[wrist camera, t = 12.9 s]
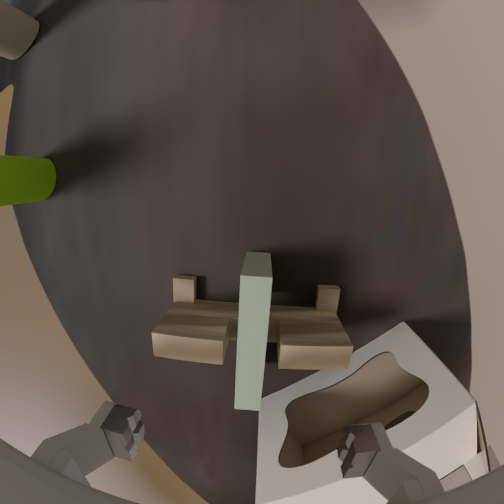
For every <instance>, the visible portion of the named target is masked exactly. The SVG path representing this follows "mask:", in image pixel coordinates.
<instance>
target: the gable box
mask: <svg viewBox="0 0 504 504" xmlns="http://www.w3.org/2000/svg"><path fill="white" fill-rule="evenodd" d="M407 412H414V414H413V415H412V416H410V417H409V418H407V419H406V420H404V421H403V422H401V423H399V424H398V425H396V426H394V427H392V428H390V429H388V430H385V431H386V433H387V436H388V438H389V440H390V442H391V445H392V447H393V448H397V449H399V450H400V451H402V452H403V453H405V454H407V455H408V456H410V457H411V458H413V459H415V460H416V461H418V462H420V463H421V464H423V465H425V466H426V467H428V468H430V469H431V470H433V471H435V472H436V474H437V477H438V479H439V481H440V483H442V482H444V481H445V480H447V479H449V478H450V477H452V476H453V475H455V474H456V473H458V472H459V471H461V470H462V469H464V468H465V469H466V470H467V472H468V474H469V476H470V478H471V479H472V480H474V479H476V478H478V477H480V476H482V475H485V474H487V473H488V472H490V471H492V470H494V469H496V468H498V467H500V466H501V465H500V463H499V461H498V459H497V457H496V455H495V453H494V451H493V450H492V448H491V446H490V445H489V446H487V443H486V438H485V434H484V429H483V425H482V420H481V416H480V412H479V408H478V404H477V402H476V400H475V399H474V398H473V397H472V395H471V394H470V393H469V392H468V391H467V389H466V388H465V387H464V386H463V385H462V384H461V382H460V381H459V380H458V379H457V378H456V377H455V376H454V374H453V373H452V372H451V371H450V370H449V369H448V368H447V367H446V366H445V364H444V363H443V362H442V361H441V360H440V359H439V358H438V357H437V356H436V354H435V353H434V352H433V351H432V350H431V349H430V348H429V347H428V346H427V345H426V344H425V343H424V342H423V340H422V339H421V338H420V337H419V336H418V335H417V334H416V333H415V332H414V331H413V330H412V329H411V328H410V327H409V326H408V325H407V324H406V323H405V322H401V323H399V324H398V325H396V326H395V327H393V328H392V329H390V330H389V331H387V332H386V333H384V334H383V335H381V336H379V337H378V338H376V339H375V340H373V341H371V342H370V343H368V344H366V345H365V346H363V347H361V348H360V349H358V350H356V351H355V352H353V353H352V355H351V359H350V363H349V367H348V369H322V370H320V371H318V372H316V373H314V374H312V375H310V376H308V377H306V378H304V379H302V380H300V381H298V382H296V383H294V384H292V385H290V386H288V387H286V388H284V389H281V390H279V391H277V392H275V393H273V394H270V395H268V396H266V397H264V398H261V403H260V411H259V426H258V452H257V477H256V499H255V504H386V503H387V502H388V500H387V499H386V498H384V497H383V496H382V495H381V494H380V493H379V492H378V491H377V490H376V489H375V488H373V487H372V486H371V485H370V484H369V483H368V482H367V481H366V480H365V479H364V478H363V477H355V478H345V479H343V475H342V471H341V465H342V461H341V460H339V458H338V452H337V450H335V451H333V452H331V451H332V450H333V449H335V448H337V447H338V442H339V440H340V438H341V437H343V429H344V427H345V426H347V425H358V424H367V423H368V424H369V423H376V422H381V423H382V424H383V427H384V428H385V427H386V426H387V425H388V424H390V423H391V422H392V421H394V420H395V419H396V418H398V417H399V416H401V415H403V414H404V413H407ZM330 452H331V453H330Z"/></svg>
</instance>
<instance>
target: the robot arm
mask: <svg viewBox="0 0 504 504" xmlns="http://www.w3.org/2000/svg"><path fill="white" fill-rule="evenodd" d="M140 418H141V413H140V411H139V410H137V409H133V408H130V407H126V406H122V405H119V404H115V403H112V402H108V401H105V402H104V403H103V404H102V405H101V407H100V408H99V410H98V411H97V413H96V414H95V415H94V417H93V418H92V420H91V421H90V423H89V424H86V423H85V424H83V425H81V426H78V427H76V428H73V429H71V430H68V431H66V432H63V433H60V434H58V435H55V436H53V437H50V438H47V439H45V440H43V442H42V443H41V444H40V445H39V447H38V448H37V449H36V451H35V452H34V454H33V455H32V456H31V457H29V456H27V455H25V454H24V453H22V452H21V451H19V450H17V449H16V448H14V447H13V446H11V445H10V444H8V443H6V442H5V441H4V440H2V439H1V438H0V504H139V503H135V502H132V501H129V500H125V499H122V498H119V497H116V496H113V495H110V494H108V493H105V492H102V491H100V490H97V489H95V488H92V487H91V486H90V484H89V482H88V481H87V479H86V478H85V476H86V475H87V474H89V473H90V472H92V471H94V470H95V469H97V468H99V467H100V466H102V465H103V464H105V463H106V462H108V461H110V460H111V459H113V458H114V457H118V458H121V459H125V460H129V461H133V460H134V458H135V455H136V453H137V451H138V450H137V447H136V446H137V445H139V444H140V443H141V442H142V440H143V436H144V425H143V423H142V422H141V421H140ZM337 452H338V458H339V460H341V461H342V465H341V471H342V475H343V479H345V478H355V477H363V478H364V479H365V480H366V481H367V482H368V483H369V484H370V485H371V486H372V487H373V488H375V489H376V490H377V491H378V492H379V493H380V494H381V495H382V496H383V497H384V498H386V499H387V500H388V502H387V503H386V504H504V465H502V466H500V467H498V468H496V469H494V470H492V471H490V472H488V473H487V474H485V475H482V476H480V477H478V478H476V479H474V480H472V481H470V482H468V483H465V484H463V485H461V486H458V487H456V488H453V489H451V490H448V491H446V492H445V491H444V489H443V487H442V485H441V483H440V481H439V479H438V477H437V474H436V472H435V471H433V470H431V469H430V468H428V467H426V466H425V465H423V464H421V463H420V462H418V461H416V460H415V459H413V458H411V457H410V456H408V455H407V454H405V453H403V452H402V451H400V450H399V449H397V448H393V447H392V445H391V442H390V440H389V438H388V436H387V433H386V431H385V429H384V427H383V424H382V423H381V422H376V423H369V424H368V423H367V424H358V425H347V426H345V427H344V429H343V437H341V438H340V440H339V442H338V448H337Z"/></svg>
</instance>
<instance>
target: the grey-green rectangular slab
mask: <svg viewBox="0 0 504 504" xmlns="http://www.w3.org/2000/svg"><path fill="white" fill-rule="evenodd" d="M272 279H273V277H272V266H271V255H270V253H263V252H249V251H247V254H246V257H245V261H244V265H243V268H242V272H241V276H240V296H239V316H238V337H237V360H236V383H235V408H234V409H243V410H258V411H260V403H261V394H262V385H263V375H264V366H265V356H266V345H267V335H268V324H269V313H270V302H271V290H272Z"/></svg>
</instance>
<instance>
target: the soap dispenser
mask: <svg viewBox="0 0 504 504" xmlns="http://www.w3.org/2000/svg"><path fill="white" fill-rule="evenodd" d="M55 184H56V170H55V166H54V164H53V163H52V161H51V160H49V159H48V158H39V157H23V156H0V206H5V205H12V204H19V203H27V202H35V201H43V200H46V199H47V198H48V197H49V196H50V195H51V194H52V192H53V190H54V188H55Z"/></svg>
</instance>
